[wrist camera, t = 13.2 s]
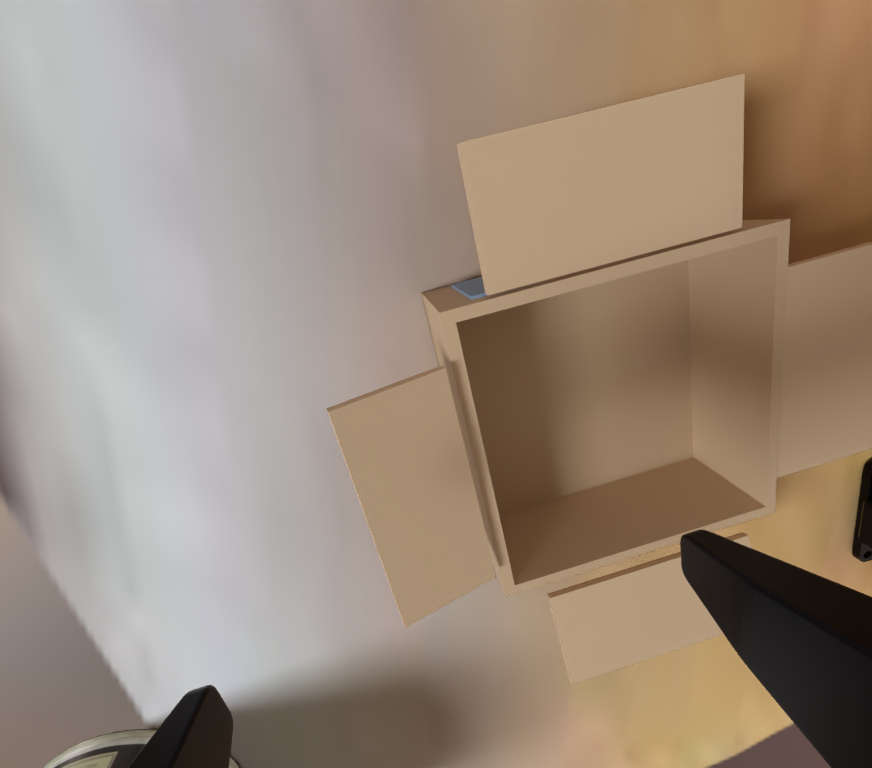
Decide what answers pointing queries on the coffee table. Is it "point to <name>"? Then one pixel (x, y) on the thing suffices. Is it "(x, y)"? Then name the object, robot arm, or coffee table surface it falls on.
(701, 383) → the carton
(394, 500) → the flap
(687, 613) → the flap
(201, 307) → the coffee table surface
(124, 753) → the coffee can
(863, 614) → the robot arm
